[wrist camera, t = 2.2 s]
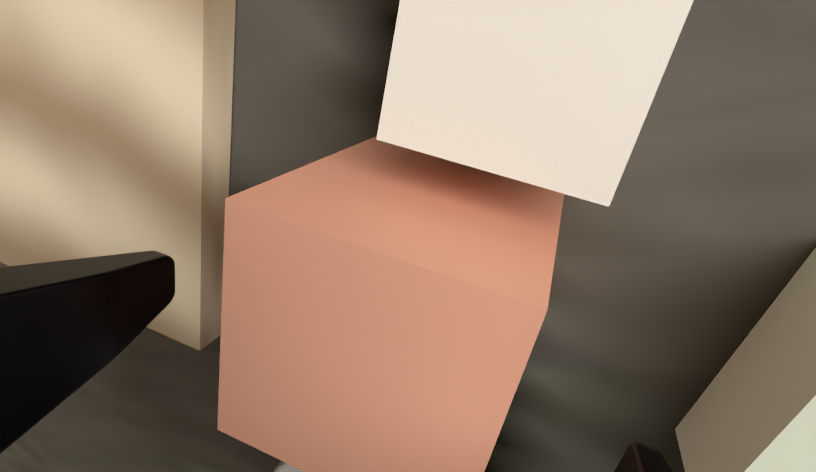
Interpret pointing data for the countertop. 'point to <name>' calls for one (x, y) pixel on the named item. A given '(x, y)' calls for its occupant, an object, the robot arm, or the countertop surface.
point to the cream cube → (529, 85)
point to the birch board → (120, 140)
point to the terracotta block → (381, 310)
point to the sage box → (762, 394)
